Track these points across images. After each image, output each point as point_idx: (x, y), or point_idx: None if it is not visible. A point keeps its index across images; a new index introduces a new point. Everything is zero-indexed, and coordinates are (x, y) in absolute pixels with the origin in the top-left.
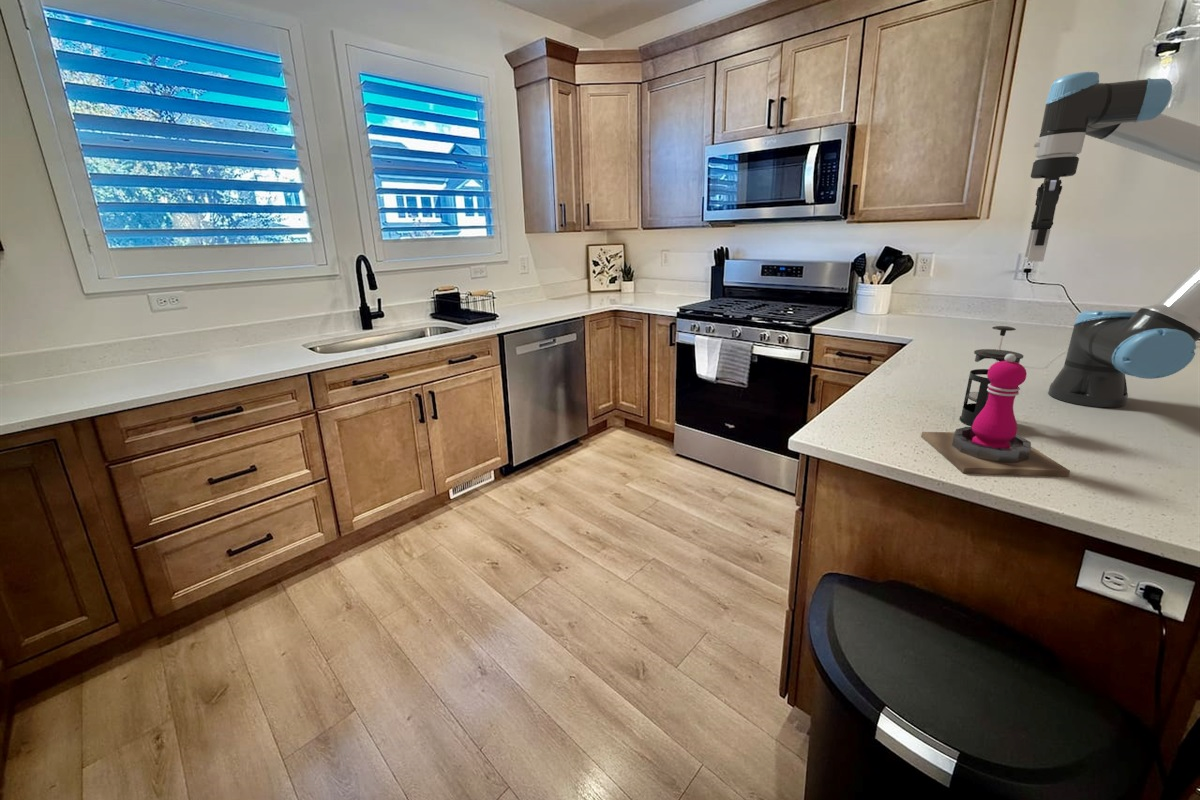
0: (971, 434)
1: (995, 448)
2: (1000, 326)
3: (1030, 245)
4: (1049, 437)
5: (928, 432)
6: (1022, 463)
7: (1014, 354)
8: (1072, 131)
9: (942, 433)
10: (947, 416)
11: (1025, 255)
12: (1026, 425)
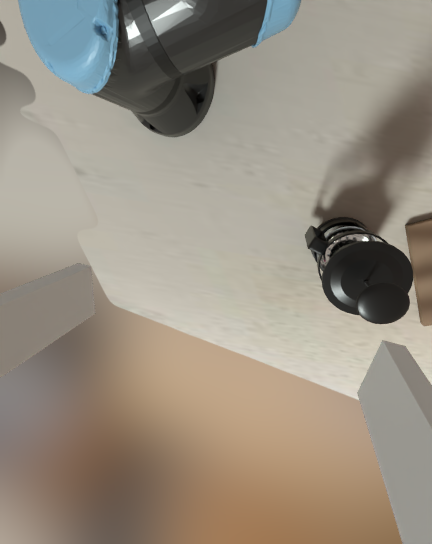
0: None
1: None
2: (379, 312)
3: (46, 333)
4: (386, 173)
5: (425, 319)
6: None
7: (380, 258)
8: None
9: (426, 305)
10: None
11: (89, 316)
12: (336, 193)
